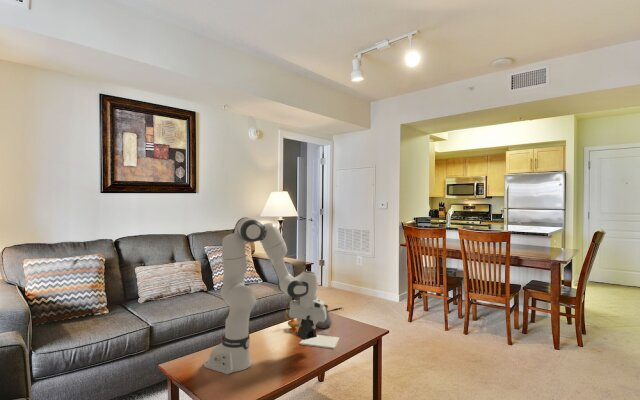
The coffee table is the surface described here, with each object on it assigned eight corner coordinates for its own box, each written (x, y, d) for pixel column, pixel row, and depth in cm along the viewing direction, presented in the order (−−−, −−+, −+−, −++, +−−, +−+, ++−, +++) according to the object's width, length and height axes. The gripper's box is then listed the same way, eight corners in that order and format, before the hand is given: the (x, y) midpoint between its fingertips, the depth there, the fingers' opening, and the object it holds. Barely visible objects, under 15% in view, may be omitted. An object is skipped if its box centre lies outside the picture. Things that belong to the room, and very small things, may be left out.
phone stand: (302, 340, 173) (303, 316, 174) (296, 336, 178) (297, 313, 178) (316, 336, 179) (317, 314, 179) (310, 333, 183) (311, 311, 184)
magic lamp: (303, 335, 200) (303, 317, 200) (281, 328, 210) (281, 310, 211) (310, 331, 205) (310, 314, 205) (288, 325, 216) (288, 308, 216)
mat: (299, 344, 187) (299, 342, 187) (306, 334, 201) (306, 333, 201) (334, 348, 182) (334, 347, 182) (339, 338, 196) (339, 337, 196)
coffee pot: (310, 326, 215) (310, 302, 215) (321, 321, 224) (322, 298, 224) (336, 334, 201) (337, 310, 202) (347, 329, 210) (348, 305, 210)
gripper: (287, 300, 178) (286, 327, 178) (325, 305, 173) (323, 332, 173) (291, 297, 184) (290, 323, 184) (327, 302, 179) (326, 328, 179)
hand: (307, 327), depth 178 cm, fingers closed on phone stand, 6 cm apart
